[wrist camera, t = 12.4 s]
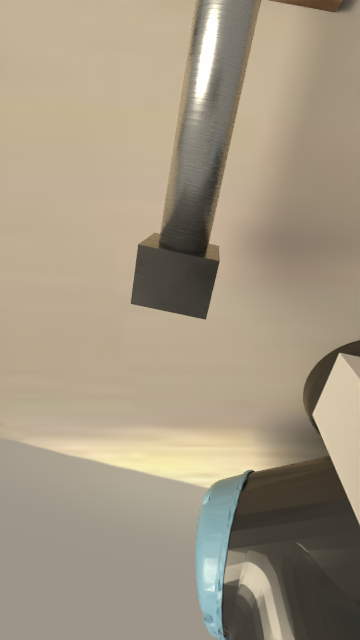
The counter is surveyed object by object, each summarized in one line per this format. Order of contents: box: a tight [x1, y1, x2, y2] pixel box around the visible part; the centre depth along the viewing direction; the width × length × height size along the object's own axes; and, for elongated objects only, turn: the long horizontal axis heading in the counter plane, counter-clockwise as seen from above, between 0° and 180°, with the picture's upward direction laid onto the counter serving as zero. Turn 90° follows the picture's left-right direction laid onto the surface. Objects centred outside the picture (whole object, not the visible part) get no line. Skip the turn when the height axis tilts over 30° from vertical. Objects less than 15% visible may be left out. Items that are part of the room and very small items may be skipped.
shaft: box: [131, 0, 261, 319], centre depth 15 cm, size 4×26×5 cm, turn 170°
